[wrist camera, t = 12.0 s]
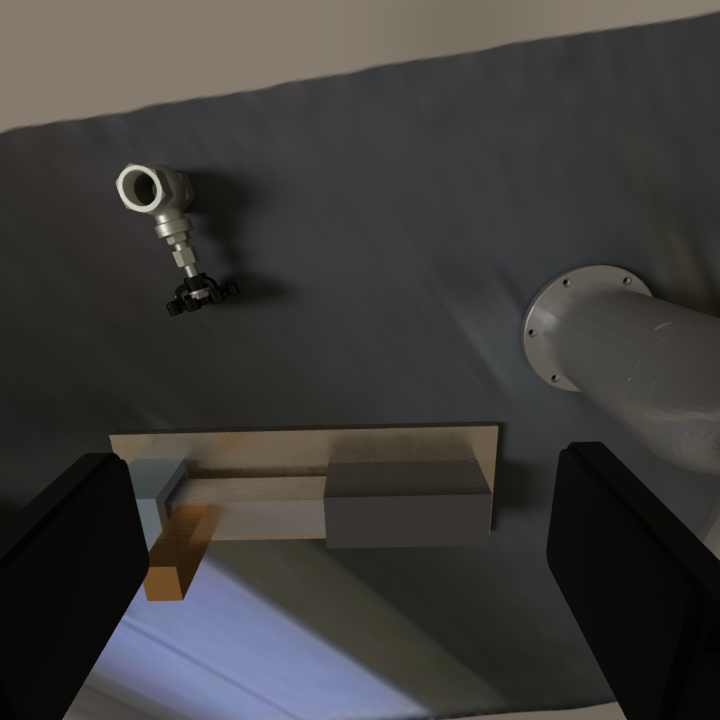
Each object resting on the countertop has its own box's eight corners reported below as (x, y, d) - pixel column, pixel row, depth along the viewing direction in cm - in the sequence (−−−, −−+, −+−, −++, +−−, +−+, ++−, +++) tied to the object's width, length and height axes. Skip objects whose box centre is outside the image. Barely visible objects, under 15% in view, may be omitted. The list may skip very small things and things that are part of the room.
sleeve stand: (495, 421, 47) (517, 456, 40) (487, 529, 52) (505, 576, 45) (114, 430, 48) (74, 466, 41) (139, 535, 52) (107, 583, 46)
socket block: (184, 458, 48) (155, 498, 41) (195, 519, 50) (170, 566, 44) (133, 459, 48) (96, 500, 41) (147, 520, 50) (115, 567, 44)
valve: (131, 178, 39) (185, 305, 43) (87, 173, 33) (155, 322, 37) (199, 155, 39) (248, 286, 43) (168, 146, 33) (229, 300, 36)
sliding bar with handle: (365, 475, 47) (365, 561, 36) (366, 506, 48) (367, 599, 37) (151, 480, 47) (84, 566, 36) (157, 511, 49) (95, 603, 37)
